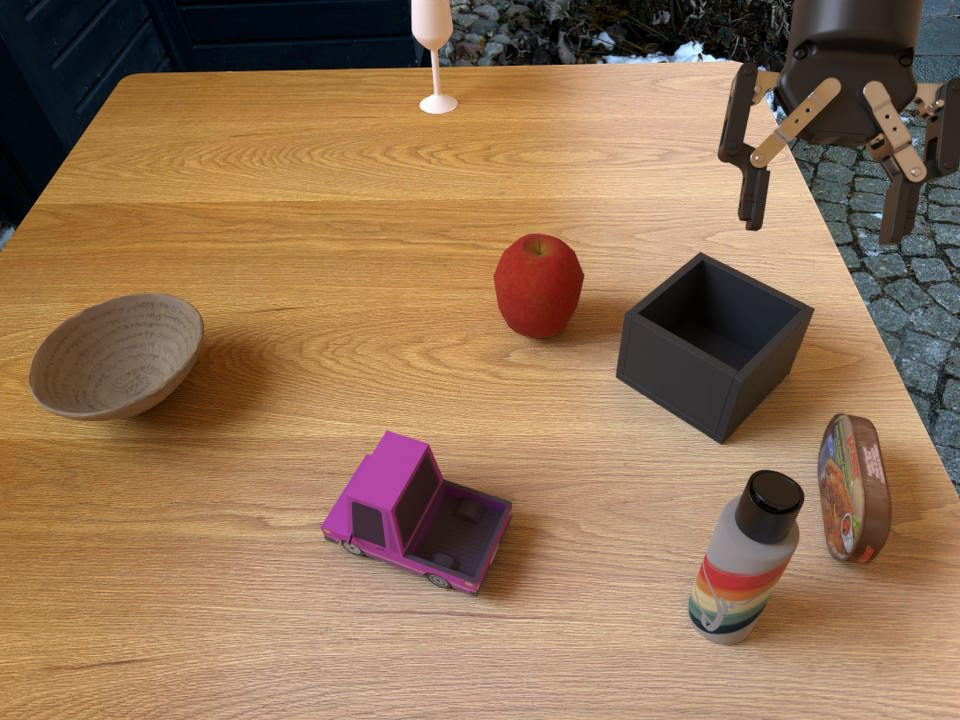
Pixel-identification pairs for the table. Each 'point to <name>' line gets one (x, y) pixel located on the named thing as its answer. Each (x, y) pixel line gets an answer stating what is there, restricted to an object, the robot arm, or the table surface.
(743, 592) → the lotion bottle
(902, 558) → the table surface
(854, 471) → the tin
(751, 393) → the bin
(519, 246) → the apple
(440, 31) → the champagne flute
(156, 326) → the bowl
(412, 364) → the table surface
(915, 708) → the table surface
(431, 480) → the toy truck
